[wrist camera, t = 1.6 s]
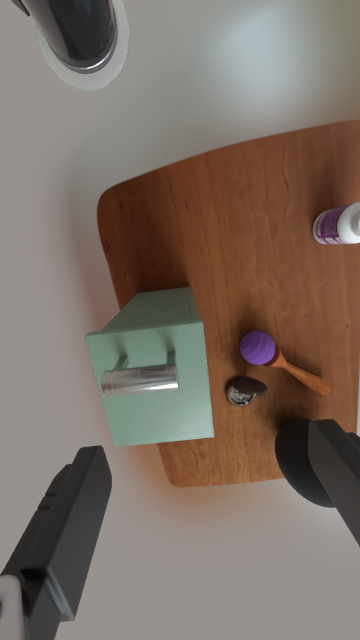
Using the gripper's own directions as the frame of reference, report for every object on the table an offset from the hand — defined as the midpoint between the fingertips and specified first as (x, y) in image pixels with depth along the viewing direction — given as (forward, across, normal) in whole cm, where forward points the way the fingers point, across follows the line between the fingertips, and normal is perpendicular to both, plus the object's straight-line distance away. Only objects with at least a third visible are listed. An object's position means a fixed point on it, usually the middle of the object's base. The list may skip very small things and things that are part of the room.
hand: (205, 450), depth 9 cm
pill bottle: (+34, -25, -7) cm, 43 cm away
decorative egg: (+34, -19, +33) cm, 51 cm away
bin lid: (+11, +4, +4) cm, 12 cm away
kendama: (+34, -17, +16) cm, 41 cm away
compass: (+34, -10, +21) cm, 41 cm away
